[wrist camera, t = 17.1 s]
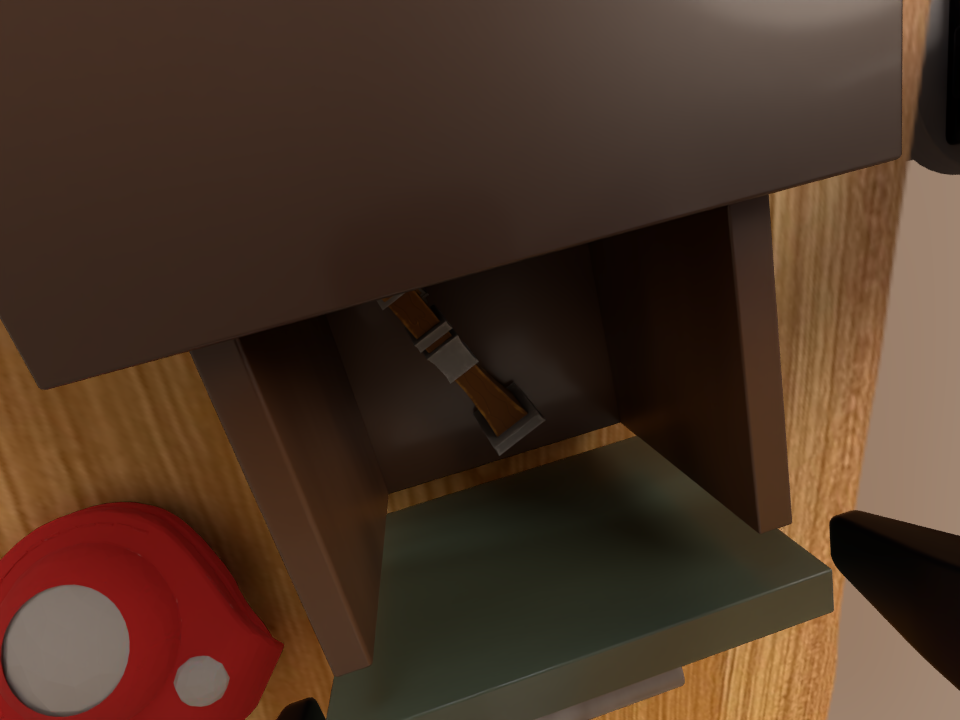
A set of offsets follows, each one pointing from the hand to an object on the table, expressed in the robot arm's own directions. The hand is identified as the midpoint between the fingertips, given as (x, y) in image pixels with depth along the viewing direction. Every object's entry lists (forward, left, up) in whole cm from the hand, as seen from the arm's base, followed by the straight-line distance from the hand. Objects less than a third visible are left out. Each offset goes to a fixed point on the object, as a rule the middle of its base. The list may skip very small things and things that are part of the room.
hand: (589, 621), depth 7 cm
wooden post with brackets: (+1, -4, -8) cm, 9 cm away
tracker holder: (+16, +4, -10) cm, 19 cm away
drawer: (0, -2, -9) cm, 9 cm away
